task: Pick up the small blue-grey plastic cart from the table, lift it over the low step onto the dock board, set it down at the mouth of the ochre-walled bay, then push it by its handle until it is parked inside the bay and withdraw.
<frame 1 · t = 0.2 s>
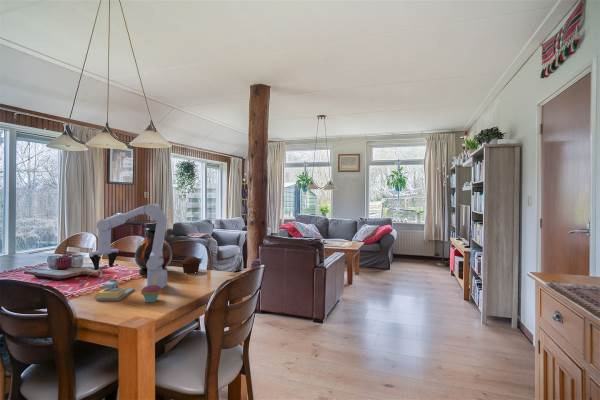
hand: (103, 268, 165), 10 cm above the table, fingers open, 7 cm apart
dock: (116, 295, 152), on the table
cart: (110, 288, 162), on the table
amphora vase: (153, 272, 200), on the table
cupcake: (151, 301, 146), on the table
muffin: (191, 272, 203), on the table
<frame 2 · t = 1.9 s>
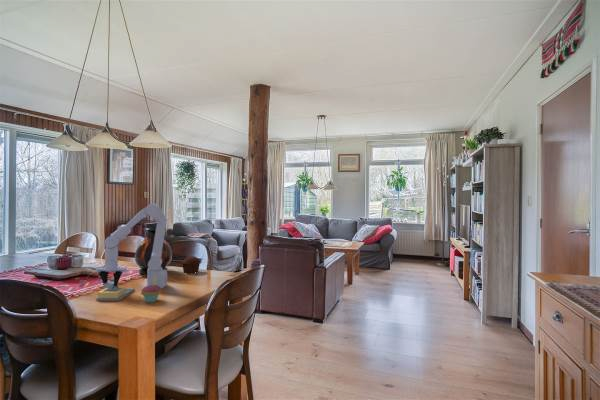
hand: (110, 285, 162), 1 cm above the table, fingers closed on cart, 4 cm apart
cart: (110, 288, 162), on the table, touching gripper
everything else where it was.
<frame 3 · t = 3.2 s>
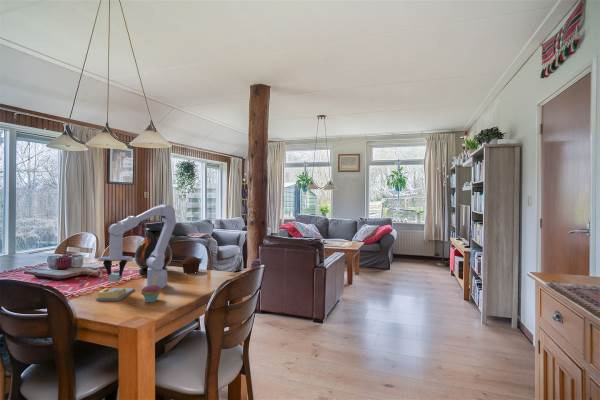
hand: (115, 275, 156), 8 cm above the table, fingers closed on cart, 4 cm apart
cart: (115, 280, 156), point 6 cm above the table, touching gripper
everything else where it was.
when the fingers open (4 cm above the table, at t = 4.6 s): cart stays where it is, resting on dock.
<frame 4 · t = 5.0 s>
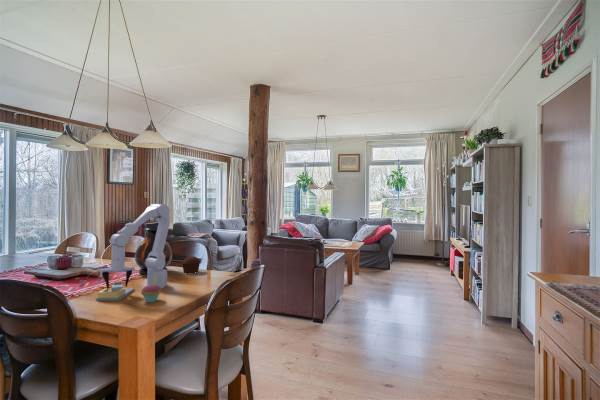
hand: (117, 287, 152), 4 cm above the table, fingers open, 7 cm apart
cart: (117, 292, 153), point 1 cm above the table, touching dock
everything else where it was.
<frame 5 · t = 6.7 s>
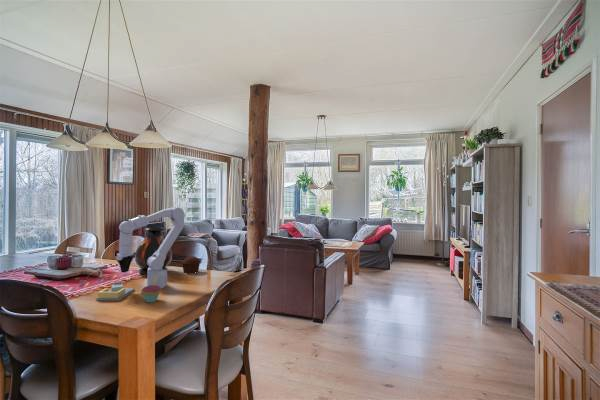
hand: (124, 271, 160), 9 cm above the table, fingers closed
nothing on the table moved.
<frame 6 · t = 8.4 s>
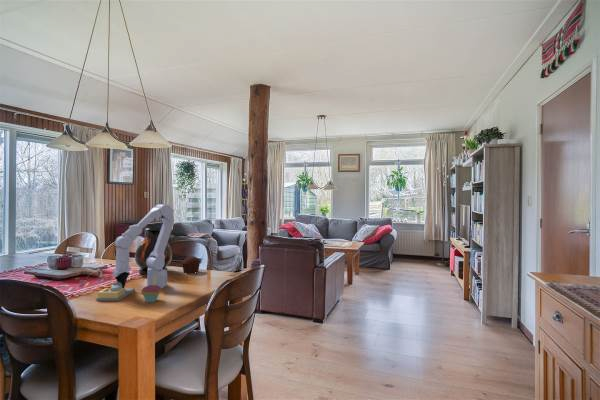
hand: (121, 287, 157), 2 cm above the table, fingers closed
cart: (116, 292, 152), point 1 cm above the table, touching dock, gripper
everything else where it was.
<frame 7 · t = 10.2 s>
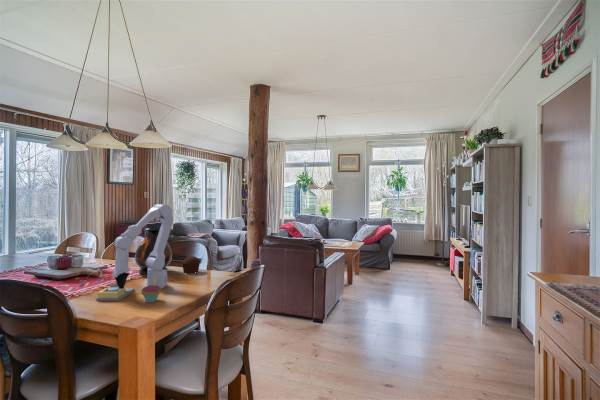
hand: (121, 288, 156), 2 cm above the table, fingers closed
cart: (113, 294, 148), point 1 cm above the table, touching dock
everything else where it was.
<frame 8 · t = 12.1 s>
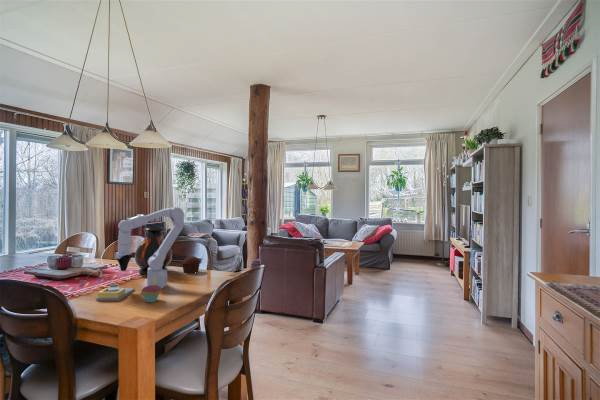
hand: (123, 270, 161), 10 cm above the table, fingers closed
nothing on the table moved.
at the end: cart 0.1 cm from the target spot, point 1.2 cm above the table; cart tilted 0°; the gripper is holding nothing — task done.
